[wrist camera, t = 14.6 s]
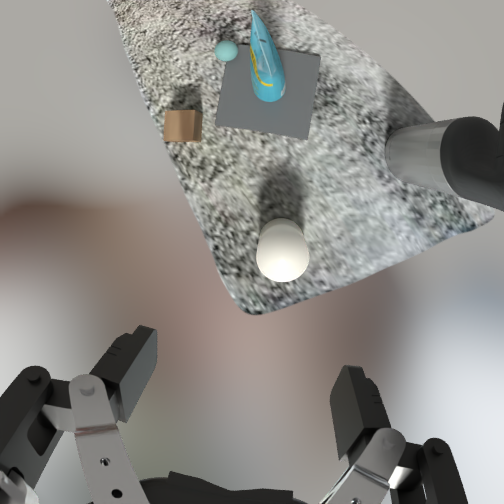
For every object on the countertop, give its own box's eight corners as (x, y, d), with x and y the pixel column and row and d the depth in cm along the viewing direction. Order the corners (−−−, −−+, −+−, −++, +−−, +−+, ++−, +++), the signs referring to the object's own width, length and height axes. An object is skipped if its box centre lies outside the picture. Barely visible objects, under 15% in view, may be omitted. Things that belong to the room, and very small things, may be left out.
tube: (246, 71, 38) (224, 17, 20) (277, 62, 37) (275, 3, 19) (261, 114, 40) (250, 82, 22) (293, 105, 39) (304, 67, 21)
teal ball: (241, 46, 37) (238, 37, 33) (237, 65, 38) (234, 57, 35) (219, 44, 37) (214, 36, 34) (215, 63, 38) (210, 56, 35)
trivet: (320, 58, 37) (320, 57, 36) (306, 140, 41) (307, 140, 41) (231, 45, 37) (230, 43, 37) (215, 125, 42) (214, 125, 41)
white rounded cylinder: (301, 215, 45) (306, 229, 37) (305, 257, 47) (311, 278, 40) (256, 221, 46) (252, 235, 38) (262, 262, 48) (260, 284, 40)
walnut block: (194, 109, 37) (165, 111, 37) (193, 140, 39) (163, 140, 39) (202, 114, 41) (175, 114, 42) (201, 141, 43) (174, 142, 43)
